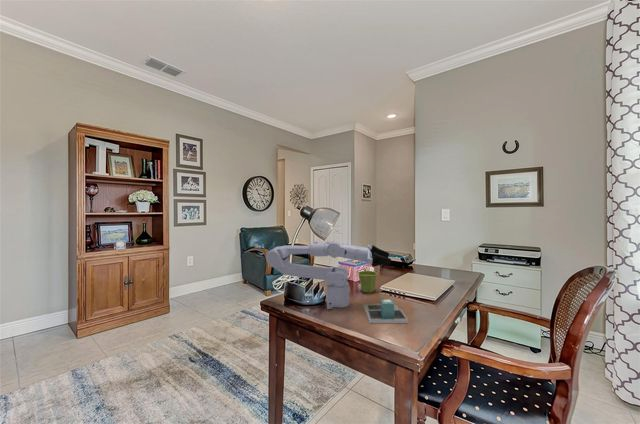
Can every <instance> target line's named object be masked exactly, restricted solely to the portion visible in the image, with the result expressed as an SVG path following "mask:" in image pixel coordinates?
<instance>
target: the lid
mask: <svg viewBox="0 0 640 424" xmlns="http://www.w3.org/2000/svg"><path fill="white" fill-rule="evenodd" d="M363 308H364V311H365V313H366V310H381V303H380V304H363ZM394 310H400V308H399V307H398V305H397V304H395V303H394Z"/></svg>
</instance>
